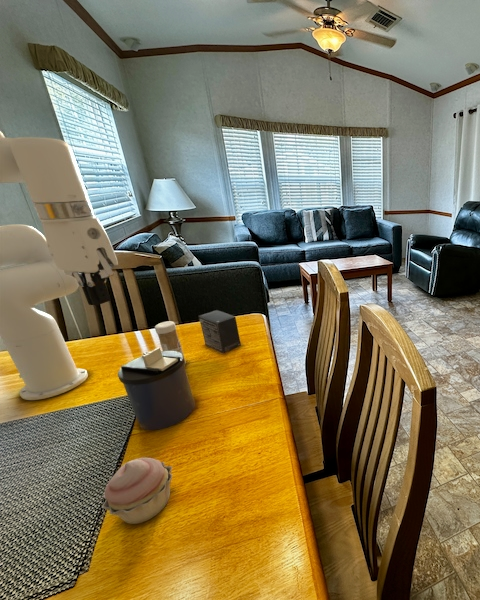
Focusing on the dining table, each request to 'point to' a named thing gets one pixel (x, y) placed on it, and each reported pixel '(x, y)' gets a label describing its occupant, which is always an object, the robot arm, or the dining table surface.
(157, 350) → the slider
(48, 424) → the dining table surface
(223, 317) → the small box
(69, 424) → the dining table surface
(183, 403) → the dark blue canister
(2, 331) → the robot arm
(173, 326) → the sprinkles bottle
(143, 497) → the cupcake
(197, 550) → the dining table surface
